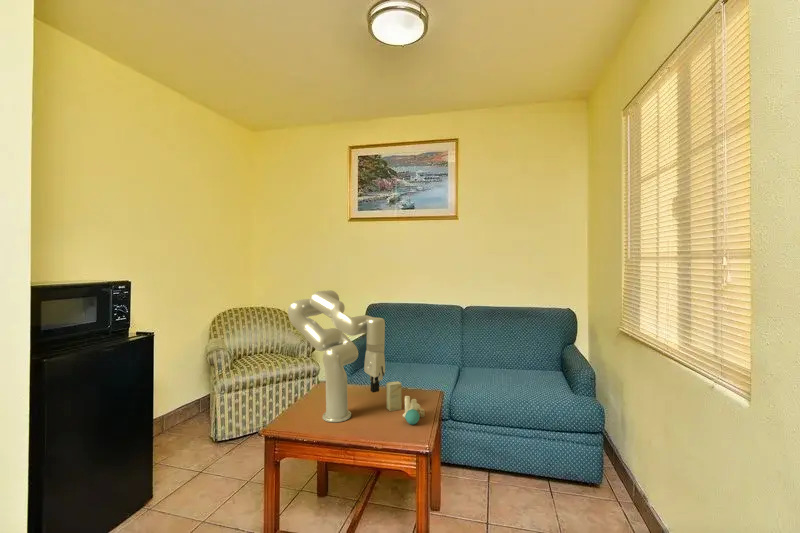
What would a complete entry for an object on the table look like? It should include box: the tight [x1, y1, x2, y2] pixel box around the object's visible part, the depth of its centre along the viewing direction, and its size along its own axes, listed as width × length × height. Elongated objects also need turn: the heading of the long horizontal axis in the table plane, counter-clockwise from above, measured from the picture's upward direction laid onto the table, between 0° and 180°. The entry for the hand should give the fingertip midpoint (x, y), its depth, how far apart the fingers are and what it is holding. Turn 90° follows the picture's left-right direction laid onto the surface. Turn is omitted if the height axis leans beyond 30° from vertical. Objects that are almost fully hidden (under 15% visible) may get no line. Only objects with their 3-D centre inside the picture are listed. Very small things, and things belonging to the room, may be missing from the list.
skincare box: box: [386, 380, 403, 412], centre depth 175 cm, size 6×4×12 cm
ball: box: [405, 409, 421, 425], centre depth 157 cm, size 6×6×6 cm
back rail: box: [410, 402, 426, 418], centre depth 169 cm, size 12×2×3 cm, turn 34°
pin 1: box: [404, 395, 411, 413], centre depth 166 cm, size 2×2×8 cm
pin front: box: [402, 402, 421, 420], centre depth 164 cm, size 2×2×8 cm
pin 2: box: [410, 398, 418, 411], centre depth 162 cm, size 2×2×8 cm
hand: (374, 391), depth 155 cm, fingers closed
